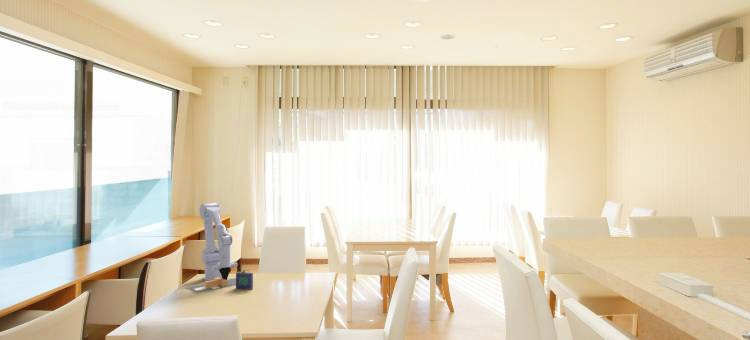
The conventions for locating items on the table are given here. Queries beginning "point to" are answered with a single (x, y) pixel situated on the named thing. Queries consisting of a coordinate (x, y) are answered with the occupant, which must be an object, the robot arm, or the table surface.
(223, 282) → the t block
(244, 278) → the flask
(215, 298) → the table surface
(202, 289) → the mat
